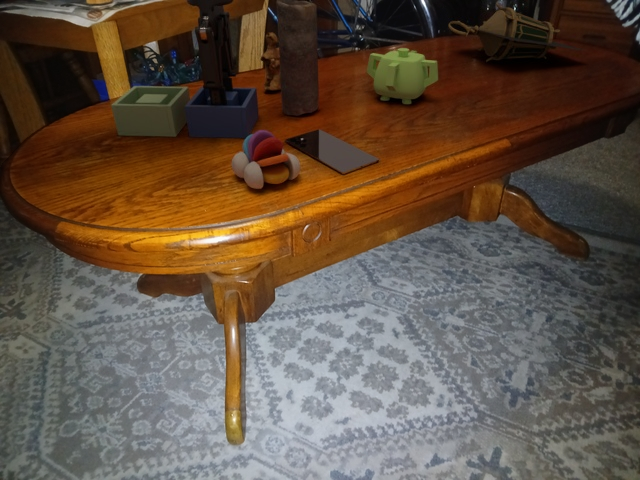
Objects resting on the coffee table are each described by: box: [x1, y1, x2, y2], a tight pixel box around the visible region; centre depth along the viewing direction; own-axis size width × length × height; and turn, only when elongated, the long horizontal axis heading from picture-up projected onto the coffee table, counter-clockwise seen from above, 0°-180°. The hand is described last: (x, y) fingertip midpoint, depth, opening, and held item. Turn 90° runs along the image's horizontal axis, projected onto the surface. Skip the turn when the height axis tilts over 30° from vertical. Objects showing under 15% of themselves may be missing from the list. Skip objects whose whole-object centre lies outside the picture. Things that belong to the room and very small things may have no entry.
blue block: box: [207, 92, 239, 106], centre depth 93 cm, size 4×4×4 cm
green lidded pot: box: [366, 47, 439, 105], centre depth 105 cm, size 12×12×10 cm
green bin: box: [110, 85, 191, 138], centre depth 94 cm, size 11×11×6 cm
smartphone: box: [284, 129, 380, 175], centre depth 85 cm, size 8×1×16 cm
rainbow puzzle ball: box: [230, 129, 301, 190], centre depth 76 cm, size 8×10×7 cm
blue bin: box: [184, 86, 260, 139], centre depth 93 cm, size 11×11×6 cm
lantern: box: [448, 2, 587, 63], centre depth 127 cm, size 14×23×30 cm
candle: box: [275, 0, 320, 117], centre depth 96 cm, size 8×7×20 cm
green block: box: [136, 94, 169, 105], centre depth 94 cm, size 4×4×4 cm
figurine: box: [259, 32, 281, 92], centre depth 108 cm, size 5×6×12 cm
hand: (224, 117), depth 94 cm, fingers closed on blue block, 4 cm apart
